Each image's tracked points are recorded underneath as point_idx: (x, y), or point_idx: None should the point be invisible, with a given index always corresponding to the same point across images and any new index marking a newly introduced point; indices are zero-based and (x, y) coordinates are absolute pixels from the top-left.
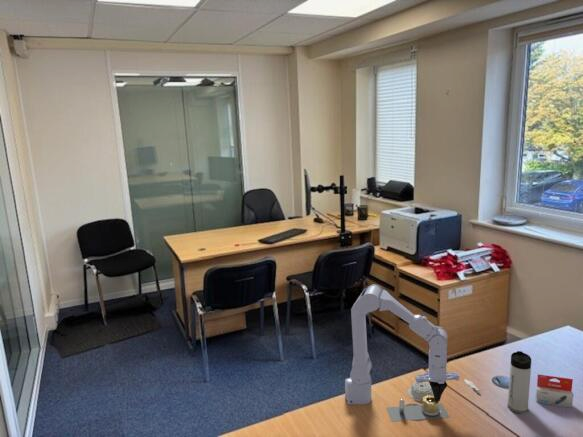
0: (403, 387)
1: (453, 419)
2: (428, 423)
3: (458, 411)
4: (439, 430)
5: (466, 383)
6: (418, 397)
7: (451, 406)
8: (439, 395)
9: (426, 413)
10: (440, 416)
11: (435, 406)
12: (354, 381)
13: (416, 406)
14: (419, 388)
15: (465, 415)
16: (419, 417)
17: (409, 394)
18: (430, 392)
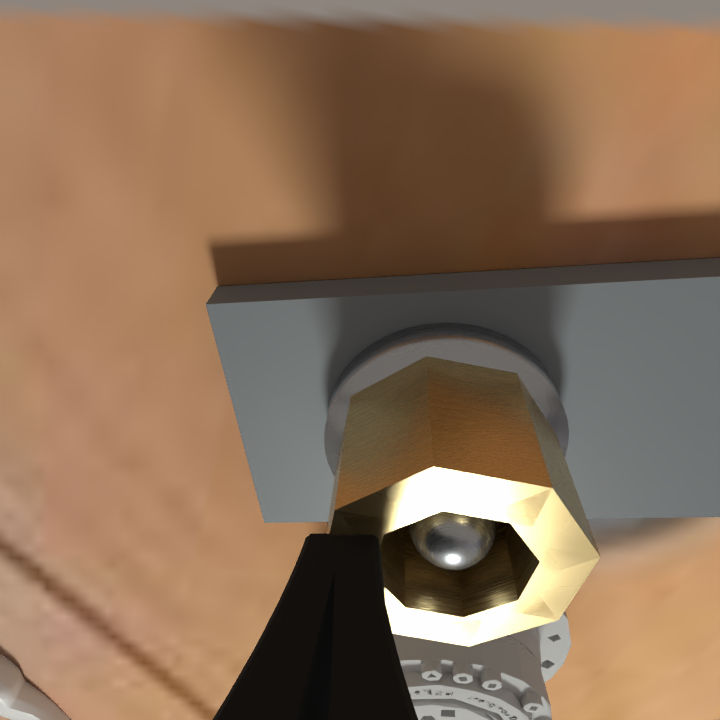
0: None
1: (174, 292)
2: (537, 227)
3: (101, 417)
4: (432, 50)
5: (4, 694)
6: None
7: (169, 486)
8: (300, 648)
9: (536, 369)
10: (338, 324)
11: (408, 440)
12: None
13: None
14: (479, 717)
15: (24, 353)
16: (649, 319)
17: (561, 643)
18: None
